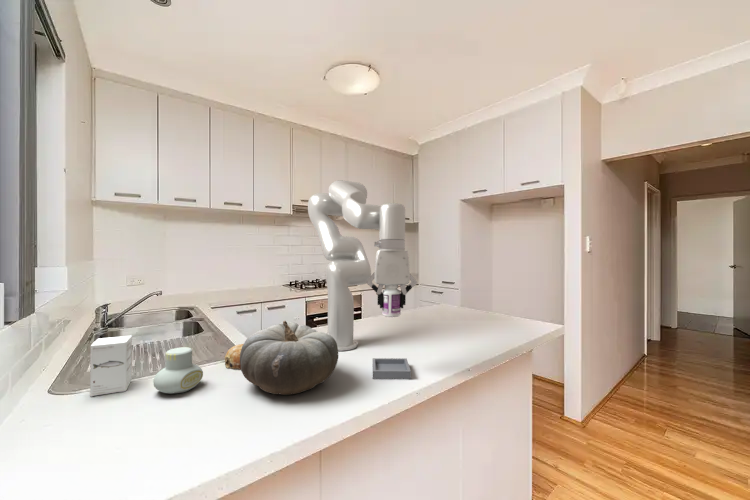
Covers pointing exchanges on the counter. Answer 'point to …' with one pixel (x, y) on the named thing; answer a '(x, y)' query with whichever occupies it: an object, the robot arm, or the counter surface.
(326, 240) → the robot arm
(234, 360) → the bread roll
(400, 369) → the tray
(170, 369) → the air freshener
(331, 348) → the gourd
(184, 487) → the counter surface
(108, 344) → the supplement box
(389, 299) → the pill bottle
